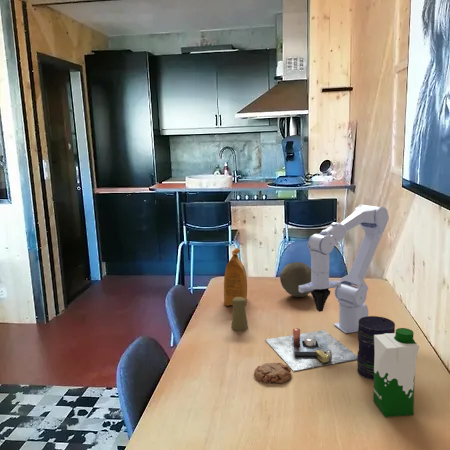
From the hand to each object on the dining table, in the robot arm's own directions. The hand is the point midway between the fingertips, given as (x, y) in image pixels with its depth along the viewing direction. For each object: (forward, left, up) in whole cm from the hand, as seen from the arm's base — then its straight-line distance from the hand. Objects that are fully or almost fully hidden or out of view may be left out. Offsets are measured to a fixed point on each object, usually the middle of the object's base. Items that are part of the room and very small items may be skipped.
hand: (319, 310), depth 149 cm
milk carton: (+2, +41, -10) cm, 42 cm away
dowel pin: (+5, +15, -10) cm, 18 cm away
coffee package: (+15, -43, -10) cm, 47 cm away
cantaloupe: (-11, -39, -10) cm, 42 cm away
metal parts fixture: (+7, +8, -9) cm, 14 cm away
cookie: (+24, +17, -10) cm, 31 cm away
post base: (+7, +6, -10) cm, 13 cm away
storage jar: (-4, +25, -10) cm, 27 cm away
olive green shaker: (+22, -18, -10) cm, 30 cm away
